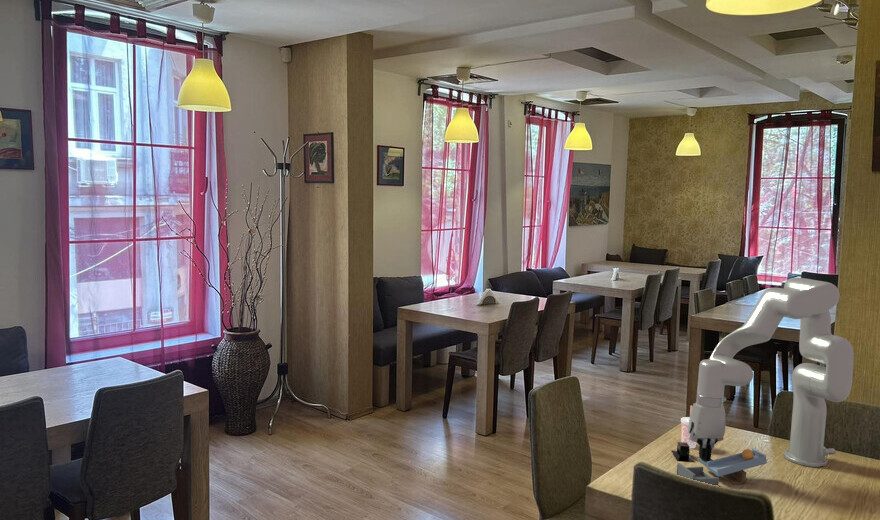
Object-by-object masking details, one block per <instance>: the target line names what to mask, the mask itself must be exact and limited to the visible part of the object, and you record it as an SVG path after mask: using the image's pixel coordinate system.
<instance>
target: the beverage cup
mask: <svg viewBox="0 0 880 520" xmlns="http://www.w3.org/2000/svg"><path fill="white" fill-rule="evenodd" d="M692 407H693V405H690V410H689V415H690V414H691V410H692ZM689 419H690V416H687V417H686V416H684V417H681V418H680V423H681V438H680V439H681V441H680V442H685V443H687V444H688V445H689V449H695V448H696V446H697V442H694V441H691V440H690V439H689V437H690V433H688V425H689Z"/></svg>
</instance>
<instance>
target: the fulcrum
mask: <svg viewBox="0 0 880 520" xmlns="http://www.w3.org/2000/svg"><path fill="white" fill-rule="evenodd" d="M721 477H722V478H723V479H726V481H728V482H729V483H731V484H732V485H734V486H735V485H736V486H737V485H751V484H753V481H752V480H750V479H749V478H747V471H746V470H741V471H737V472H734V473H730V474H726V475H723V476H721Z"/></svg>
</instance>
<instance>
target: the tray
mask: <svg viewBox="0 0 880 520" xmlns="http://www.w3.org/2000/svg"><path fill="white" fill-rule="evenodd" d="M676 464H677V465H676V475H680V476H683V477H686V478H690V479H693V480H697V481H700V482H705V483H708V484H712V485H718V486H719V482H720V478H719V476H715V477H712V476H710V475H708V474H707V473H706V472H704V466H687V467H686V466H684V465H683V464H681V463H679V462H678V463H677V462H676Z"/></svg>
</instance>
